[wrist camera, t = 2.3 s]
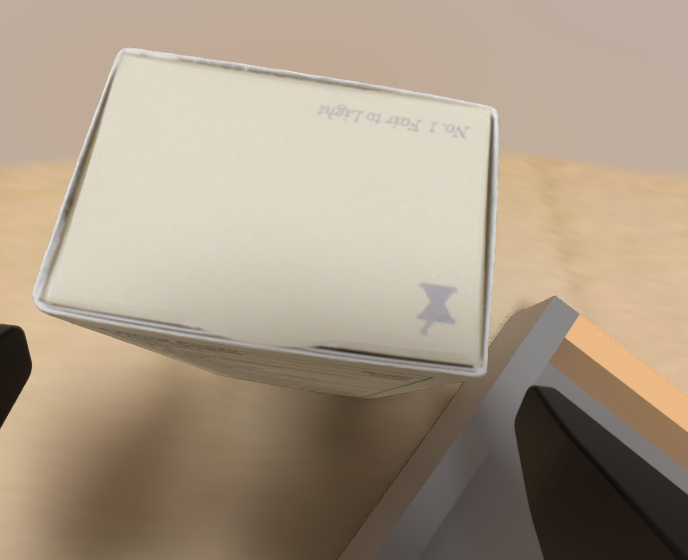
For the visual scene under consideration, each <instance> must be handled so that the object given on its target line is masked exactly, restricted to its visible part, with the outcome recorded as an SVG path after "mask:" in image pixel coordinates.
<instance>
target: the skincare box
mask: <svg viewBox="0 0 688 560" xmlns="http://www.w3.org/2000/svg"><path fill="white" fill-rule="evenodd" d="M499 125H500V120H499V115H498V112H497V111H496V109H494V108H493V107H490V106H486V105H483V104H477V103H471V102H466V101H461V100H457V99H452V98H446V97H441V96H436V95H431V94H427V93H420V92H415V91H408V90H402V89H397V88H391V87H386V86H381V85H372V84H365V83H361V82H356V81H349V80H343V79H337V78H332V77H326V76H316V75H309V74H302V73H297V72H292V71H288V70H283V69H279V70H276V69H272V68H264V67H259V66H252V65H246V64H240V63H234V62H228V61H218V60H210V59H204V58H198V57H192V56H184V55H178V54H172V53H165V52H156V51H150V50H141V49H136V48H125V49H123V50H121V51H119V53H118V55H117V56H116V58H115V61H114V64H113V66H112V69H111V71H110V74H109V77H108V79H107V82H106V85H105V88H104V91H103V94H102V96H101V99H100V102H99V104H98V107H97V109H96V112H95V114H94V117H93V120H92V123H91V126H90V129H89V131H88V134H87V136H86V139H85V142H84V145H83V148H82V150H81V153H80V155H79V158H78V160H77V164H76V167H75V170H74V173H73V176H72V178H71V181H70V183H69V186H68V189H67V192H66V194H65V197H64V200H63V203H62V206H61V208H60V211H59V215H58V218H57V221H56V224H55V227H54V230H53V233H52V236H51V240H50V242H49V245H48V247H47V250H46V253H45V255H44V258H43V261H42V264H41V267H40V270H39V273H38V276H37V279H36V283H35V286H34V289H33V293H32V299H33V302H34V304H35V305H36V307H37V308H38V309H39V311H41V312H44V313H46V314H48V315H50V316H53V317H56V318H59V319H62V320H65V321H68V322H70V323H73V324H76V325H78V326H81V327H84V328H87V329H90V330H93V331H96V332H99V333H102V334H105V335H108V336H111V337H113V338H116V339H119V340H121V341H124V342H127V343H130V344H133V345H136V346H139V347H141V348H144V349H147V350H150V351H153V352H156V353H159V354H162V355H165V356H167V357H170V358H173V359H176V360H179V361H181V362H184V363H187V364H190V365H193V366H195V367H198V368H201V369H204V370H207V371H209V372H212V373H215V374H218V375H221V376H226V377H231V378H237V379H242V380H248V381H253V382H259V383H264V384H270V385H276V386H282V387H289V388H295V389H301V390H308V391H314V392H321V393H327V394H334V395H342V396H349V397H357V398H365V399H376V398H381V397H386V396H391V395H396V394H401V393H407V392H412V391H417V390H422V389H427V388H431V387H435V386H441V385H448V384H453V383H458V382H462V381H467V380H473V379H478V378H481V377H482V376H484V375H486V374H487V361H488V340H489V333H490V324H491V305H492V289H493V273H494V266H495V238H496V221H497V206H498V180H499Z"/></svg>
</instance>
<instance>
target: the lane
mask: <svg viewBox="0 0 688 560" xmlns="http://www.w3.org/2000/svg"><path fill="white" fill-rule="evenodd" d="M531 385H541V386H550V387H553V388H555V389H557V390H558V391H559V392H561V393H562V394H563V395H564V396H566V397H567V398H568V399H569V400H571V401H572V402H573V403H574V404H576V405H577V406H578V407H579V408H581V409H582V410H583V411H584V412H586V413H587V414H588V415H589V416H591V417H592V418H593V419H594V420H596V421H597V422H598V423H599V424H601V425H602V426H603V427H604V428H606V429H607V430H608V431H609V432H611V433H612V434H613V435H614V436H616V437H617V438H618V439H619V440H621V441H622V442H623V443H624V444H626V445H627V446H628V447H629V448H631V449H632V450H633V451H634V452H636V453H637V454H638V455H639V456H641V457H642V458H643V459H644V460H646V461H647V462H648V463H649V464H651V465H652V466H653V467H654V468H656V469H657V470H658V471H659V472H661V473H662V474H663V475H664V476H666V477H667V478H668V479H669V480H671V481H672V482H673V483H674V484H676V485H677V486H678V487H679V488H681V489H682V490H683V491H684V492H686V493H687V494H688V396H687V395H685V394H684V393H683V392H681V391H680V390H679V389H677V388H676V387H675V386H674V385H672V384H671V383H670V382H668V381H667V380H666V379H664V378H663V377H662V376H660V375H659V374H658V373H656V372H655V371H654V370H652V369H651V368H650V367H649V366H647V365H646V364H645V363H643V362H642V361H641V360H639V359H638V358H637V357H635V356H634V355H633V354H631V353H630V352H629V351H628V350H626V349H625V348H624V347H622V346H621V345H620V344H618V343H617V342H616V341H614V340H613V339H612V338H610V337H609V336H608V335H606V334H605V333H604V332H603V331H601V330H600V329H599V328H597V327H596V326H595V325H593V324H592V323H591V322H589V321H588V320H587V319H585V318H584V317H583V316H582V315H580V314H579V313H578V312H576V311H575V310H574V309H572V308H571V307H570V306H568V305H567V304H566V303H564V302H563V301H562V300H560V299H559V298H558V297H557V296H553V297H551V298H549V299H547V300H544V301H542V302H540V303H538V304H536V305H534V306H532V307H530V308H528V309H526V310H524V311H522V312H520V313H518V314H515V315H513V316H511V318H510V319H509V320H508V322H507V323H506V325H505V326H504V327H503V329H502V330H501V332H500V333H499V334H498V336H497V337H496V339H495V340H494V341H493V343H492V344H491V346H490V347H489V348H488V361H487V374H486V375H484V376H482V377H481V378H478V379H473V380H467V381H465V382H464V383H463V385H462V386H461V388H460V389H459V390H458V392H457V393H456V395H455V396H454V397H453V399H452V400H451V402H450V403H449V404H448V406H447V407H446V409H445V410H444V412H443V413H442V414H441V416H440V417H439V419H438V420H437V421H436V423H435V424H434V426H433V427H432V428H431V430H430V431H429V433H428V434H427V435H426V437H425V438H424V440H423V441H422V442H421V444H420V445H419V447H418V448H417V449H416V451H415V452H414V454H413V455H412V456H411V458H410V459H409V461H408V462H407V463H406V465H405V466H404V468H403V469H402V470H401V472H400V473H399V475H398V476H397V477H396V479H395V480H394V482H393V483H392V484H391V486H390V487H389V489H388V490H387V491H386V493H385V494H384V496H383V497H382V498H381V500H380V501H379V503H378V504H377V505H376V507H375V508H374V510H373V511H372V512H371V514H370V515H369V517H368V518H367V519H366V521H365V522H364V524H363V525H362V526H361V528H360V529H359V531H358V532H357V533H356V535H355V536H354V538H353V539H352V540H351V542H350V543H349V545H348V546H347V547H346V549H345V550H344V552H343V553H342V554H341V556H340V557H339V559H338V560H544V558H543V555H542V552H541V548H540V545H539V541H538V538H537V535H536V531H535V528H534V525H533V521H532V517H531V514H530V510H529V505H528V500H527V496H526V490H525V485H524V479H523V474H522V468H521V463H520V457H519V452H518V447H517V441H516V436H515V430H514V422H515V417H516V414H517V412H518V409H519V407H520V405H521V402H522V400H523V398H524V395H525V393H526V391H527V389H528V388H529V387H530V386H531Z"/></svg>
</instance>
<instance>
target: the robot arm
mask: <svg viewBox="0 0 688 560" xmlns="http://www.w3.org/2000/svg"><path fill="white" fill-rule="evenodd" d="M31 370H32V361H31V357H30V353H29V349H28V344H27V340H26V336H25V333H24V331H23V329H22V328H21V327H19V326H16V325H8V324H0V428H1V427H2V425H3V423H4V421H5V420H6V418H7V416H8V414H9V412H10V411H11V409H12V407H13V405H14V404H15V402H16V400H17V398H18V396H19V395H20V393H21V391H22V389H23V387H24V386H25V384H26V382H27V380H28V379H29V376H30V374H31ZM514 430H515V436H516V441H517V447H518V452H519V457H520V463H521V468H522V474H523V479H524V485H525V490H526V496H527V500H528V505H529V510H530V514H531V517H532V521H533V525H534V528H535V531H536V535H537V538H538V541H539V545H540V548H541V552H542V555H543V558H544V560H688V494H687V493H686V492H684V491H683V490H682V489H681V488H679V487H678V486H677V485H676V484H674V483H673V482H672V481H671V480H669V479H668V478H667V477H666V476H664V475H663V474H662V473H661V472H659V471H658V470H657V469H656V468H654V467H653V466H652V465H651V464H649V463H648V462H647V461H646V460H644V459H643V458H642V457H641V456H639V455H638V454H637V453H636V452H634V451H633V450H632V449H631V448H629V447H628V446H627V445H626V444H624V443H623V442H622V441H621V440H619V439H618V438H617V437H616V436H614V435H613V434H612V433H611V432H609V431H608V430H607V429H606V428H604V427H603V426H602V425H601V424H599V423H598V422H597V421H596V420H594V419H593V418H592V417H591V416H589V415H588V414H587V413H586V412H584V411H583V410H582V409H581V408H579V407H578V406H577V405H576V404H574V403H573V402H572V401H571V400H569V399H568V398H567V397H566V396H564V395H563V394H562V393H561V392H559V391H558V390H557V389H555V388H553V387H550V386H541V385H531V386H530V387H529V388H528V389H527V391H526V393H525V395H524V398H523V400H522V402H521V405H520V407H519V409H518V412H517V414H516V417H515V422H514Z"/></svg>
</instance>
